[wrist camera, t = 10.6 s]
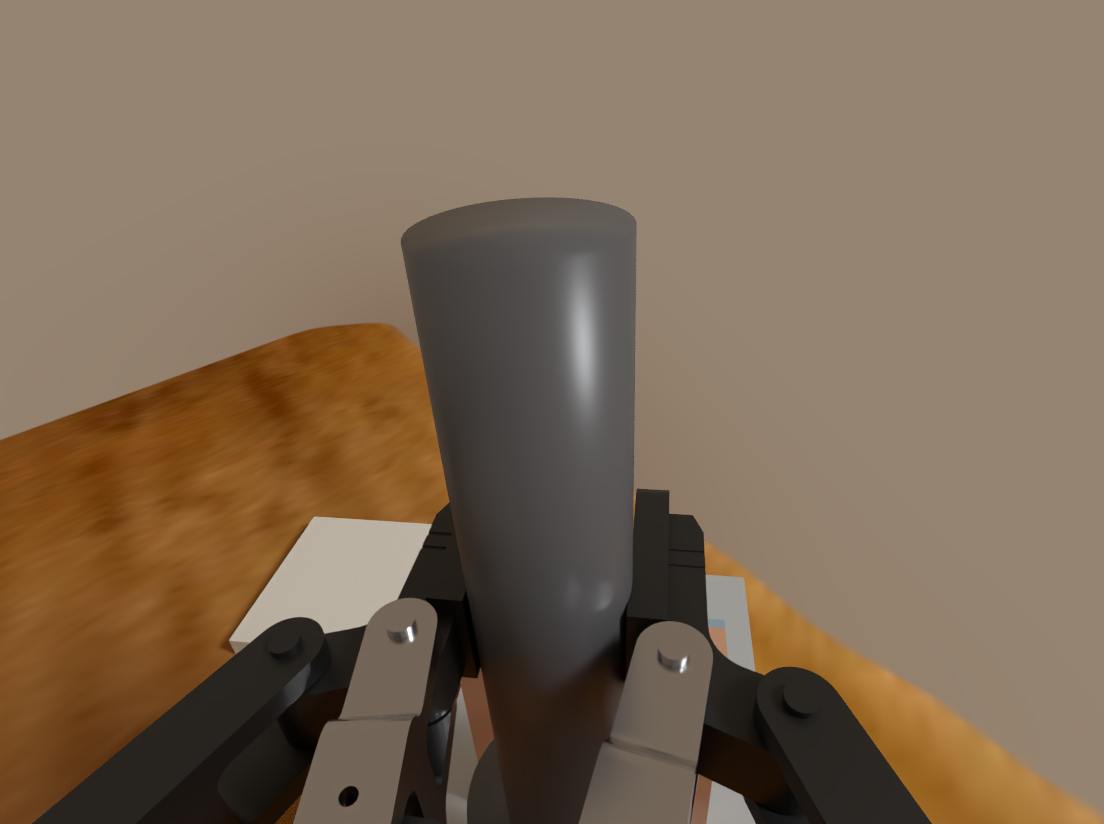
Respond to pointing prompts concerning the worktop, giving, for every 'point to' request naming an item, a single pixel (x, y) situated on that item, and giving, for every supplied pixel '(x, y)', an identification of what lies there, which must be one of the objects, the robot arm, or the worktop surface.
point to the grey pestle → (536, 475)
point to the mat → (726, 807)
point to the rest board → (336, 575)
